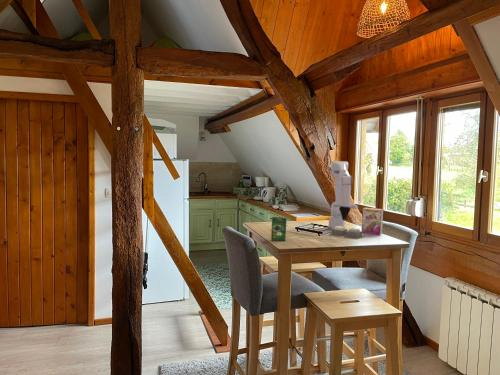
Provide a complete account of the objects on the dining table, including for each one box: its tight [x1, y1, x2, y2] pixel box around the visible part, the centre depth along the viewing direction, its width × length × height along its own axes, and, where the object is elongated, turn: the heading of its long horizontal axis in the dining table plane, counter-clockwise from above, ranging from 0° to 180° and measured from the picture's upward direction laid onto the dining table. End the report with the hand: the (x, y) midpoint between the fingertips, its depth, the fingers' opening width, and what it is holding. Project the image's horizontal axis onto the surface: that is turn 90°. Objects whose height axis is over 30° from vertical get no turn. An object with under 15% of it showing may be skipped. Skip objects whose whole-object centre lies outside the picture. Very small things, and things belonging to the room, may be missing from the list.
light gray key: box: [348, 227, 361, 233], centre depth 223 cm, size 4×4×3 cm
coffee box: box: [270, 216, 287, 242], centre depth 217 cm, size 8×3×13 cm, turn 88°
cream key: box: [334, 226, 346, 231], centre depth 229 cm, size 4×4×3 cm
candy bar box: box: [361, 207, 384, 236], centre depth 233 cm, size 11×5×16 cm, turn 59°
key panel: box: [329, 228, 365, 240], centre depth 226 cm, size 18×9×4 cm, turn 51°
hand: (344, 219), depth 227 cm, fingers closed
